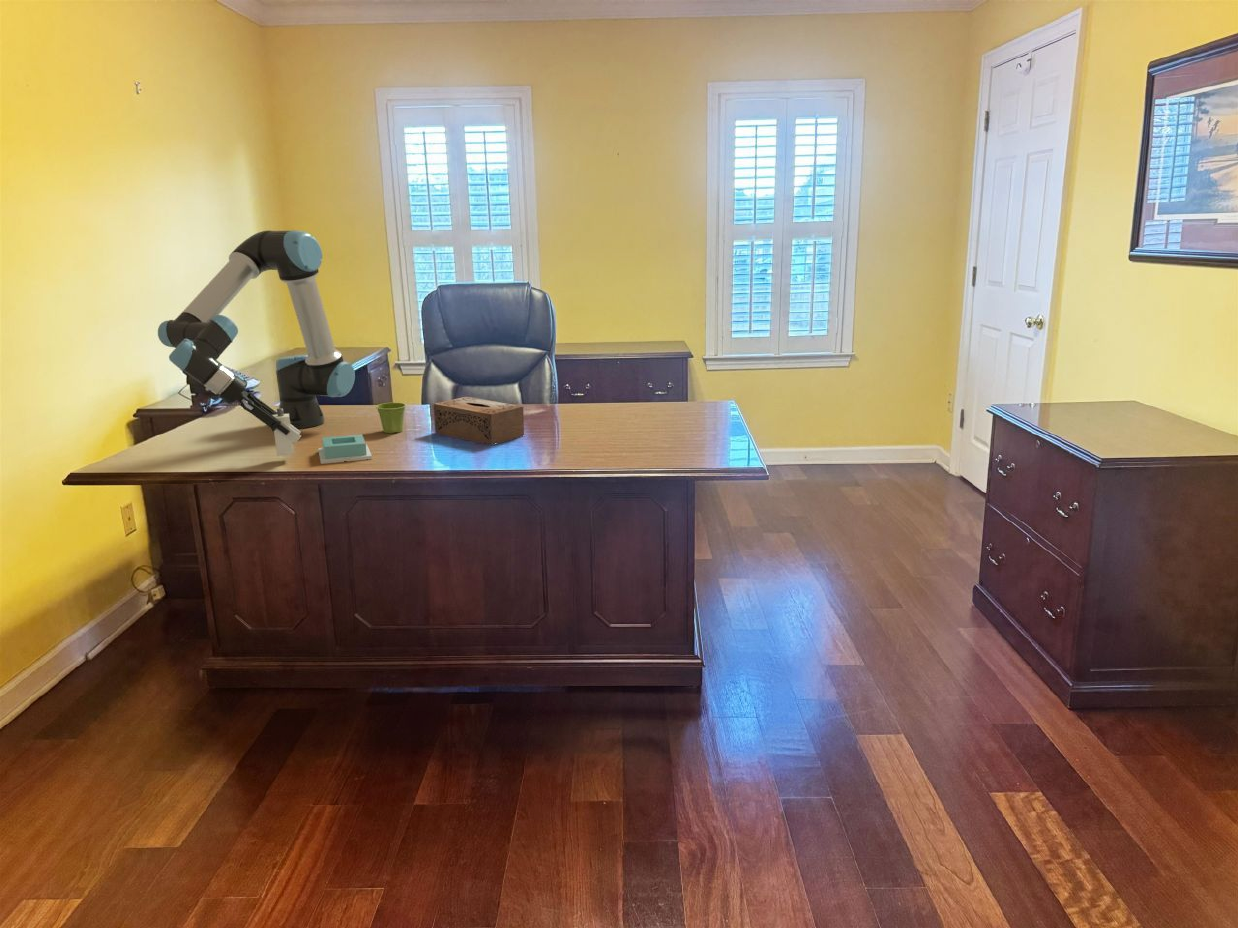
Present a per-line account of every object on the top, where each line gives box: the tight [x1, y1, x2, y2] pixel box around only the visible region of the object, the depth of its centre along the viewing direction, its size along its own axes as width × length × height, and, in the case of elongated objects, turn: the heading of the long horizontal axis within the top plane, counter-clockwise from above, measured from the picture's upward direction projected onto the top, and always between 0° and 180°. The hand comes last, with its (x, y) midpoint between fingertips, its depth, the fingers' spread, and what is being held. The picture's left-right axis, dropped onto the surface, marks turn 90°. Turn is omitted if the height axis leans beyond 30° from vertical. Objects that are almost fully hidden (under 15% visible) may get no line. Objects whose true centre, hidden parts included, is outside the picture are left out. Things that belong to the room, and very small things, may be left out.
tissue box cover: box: [433, 396, 525, 445], centre depth 267 cm, size 26×14×10 cm, turn 54°
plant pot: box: [375, 402, 407, 434], centre depth 270 cm, size 9×9×9 cm
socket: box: [317, 434, 373, 465], centre depth 243 cm, size 14×14×4 cm
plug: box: [273, 407, 295, 457], centre depth 235 cm, size 4×4×13 cm
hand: (297, 437), depth 237 cm, fingers closed on plug, 4 cm apart
